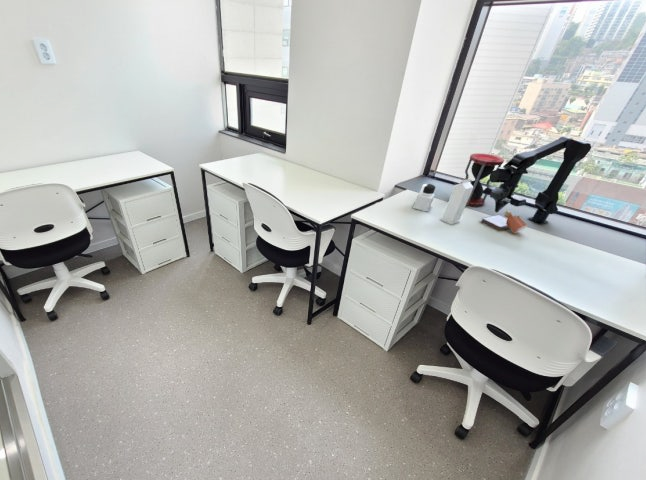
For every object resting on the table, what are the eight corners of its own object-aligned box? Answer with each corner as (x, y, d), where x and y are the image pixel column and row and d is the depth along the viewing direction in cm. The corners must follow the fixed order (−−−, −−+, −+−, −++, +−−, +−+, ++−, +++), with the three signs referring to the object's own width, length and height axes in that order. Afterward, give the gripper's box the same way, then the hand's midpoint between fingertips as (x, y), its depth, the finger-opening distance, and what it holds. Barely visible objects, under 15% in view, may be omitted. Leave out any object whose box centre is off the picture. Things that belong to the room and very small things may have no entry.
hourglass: (451, 201, 181) (468, 157, 165) (456, 193, 191) (473, 151, 176) (481, 209, 174) (503, 164, 158) (485, 200, 184) (505, 156, 169)
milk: (458, 222, 160) (476, 180, 146) (450, 224, 157) (469, 182, 144) (448, 217, 164) (465, 176, 150) (440, 219, 162) (457, 178, 148)
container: (430, 207, 174) (438, 184, 166) (427, 211, 169) (435, 188, 161) (416, 203, 177) (423, 181, 169) (412, 208, 172) (420, 185, 164)
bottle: (524, 234, 151) (532, 219, 146) (515, 236, 149) (524, 221, 144) (502, 224, 160) (510, 209, 154) (494, 226, 158) (502, 211, 153)
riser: (496, 218, 165) (498, 215, 163) (514, 227, 157) (516, 223, 156) (480, 222, 161) (482, 218, 159) (498, 230, 154) (500, 227, 152)
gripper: (482, 177, 153) (469, 206, 163) (518, 191, 140) (501, 222, 149) (498, 175, 157) (484, 203, 166) (534, 188, 143) (517, 218, 153)
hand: (496, 211), depth 158 cm, fingers closed
